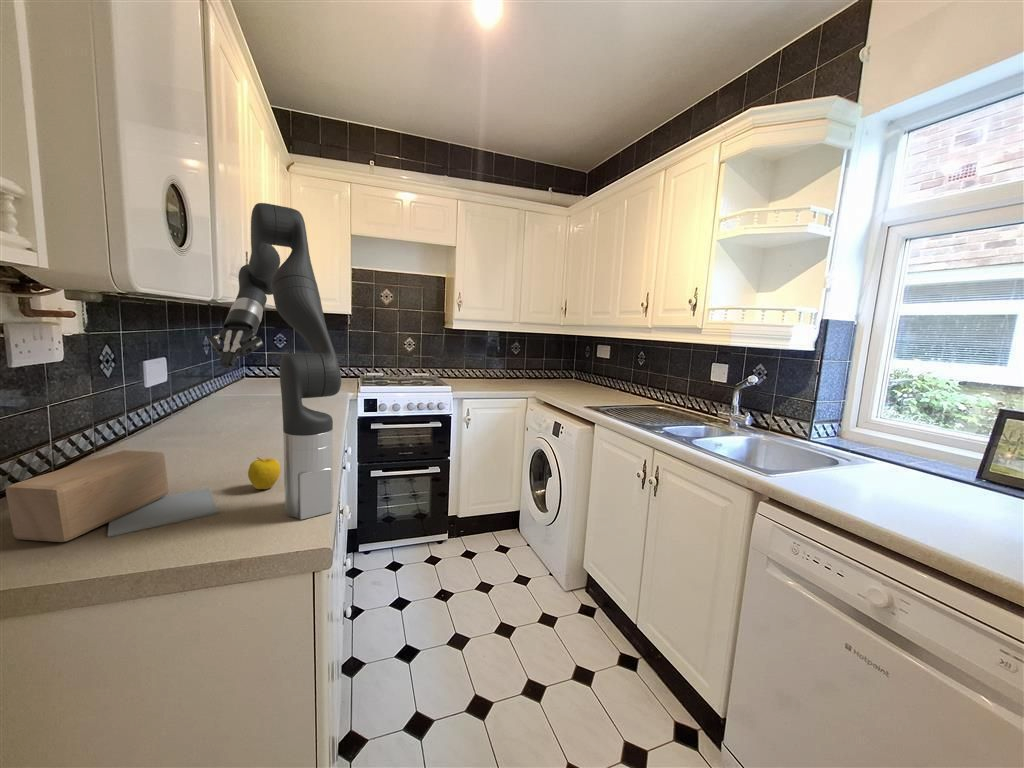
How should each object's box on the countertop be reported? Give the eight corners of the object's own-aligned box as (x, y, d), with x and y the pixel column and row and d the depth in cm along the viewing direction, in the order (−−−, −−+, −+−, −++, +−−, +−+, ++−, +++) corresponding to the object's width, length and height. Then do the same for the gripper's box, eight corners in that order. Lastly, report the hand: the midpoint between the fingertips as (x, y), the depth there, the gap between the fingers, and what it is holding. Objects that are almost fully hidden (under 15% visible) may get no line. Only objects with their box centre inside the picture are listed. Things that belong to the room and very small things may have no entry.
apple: (242, 492, 93) (240, 459, 92) (262, 482, 99) (261, 450, 98) (267, 495, 92) (266, 461, 91) (286, 484, 98) (285, 453, 97)
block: (166, 450, 87) (55, 489, 67) (171, 494, 88) (64, 545, 69) (123, 448, 87) (0, 485, 68) (128, 492, 89) (10, 541, 69)
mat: (218, 512, 83) (218, 511, 83) (107, 537, 72) (107, 534, 72) (208, 489, 94) (208, 487, 94) (111, 507, 83) (111, 505, 83)
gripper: (212, 306, 108) (189, 355, 97) (267, 309, 110) (250, 357, 100) (222, 326, 113) (201, 375, 103) (274, 328, 116) (259, 376, 106)
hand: (226, 366), depth 102 cm, fingers closed
